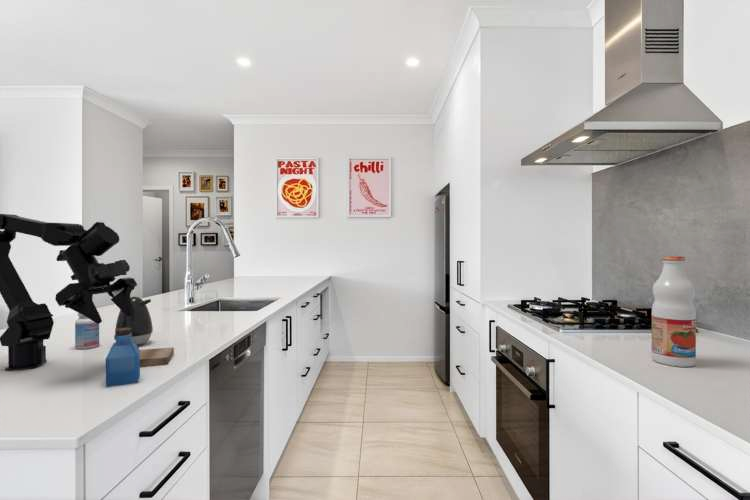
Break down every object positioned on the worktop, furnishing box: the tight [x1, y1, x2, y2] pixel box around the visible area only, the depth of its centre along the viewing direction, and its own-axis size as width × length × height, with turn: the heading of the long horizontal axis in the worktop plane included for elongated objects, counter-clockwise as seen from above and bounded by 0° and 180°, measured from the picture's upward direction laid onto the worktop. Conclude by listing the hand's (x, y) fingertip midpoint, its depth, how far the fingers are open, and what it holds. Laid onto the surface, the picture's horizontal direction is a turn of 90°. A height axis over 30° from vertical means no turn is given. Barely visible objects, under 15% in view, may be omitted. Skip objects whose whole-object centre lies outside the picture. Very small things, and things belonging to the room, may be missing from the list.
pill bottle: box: [74, 312, 100, 350], centre depth 124 cm, size 6×6×11 cm
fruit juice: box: [650, 255, 697, 368], centre depth 106 cm, size 9×9×28 cm
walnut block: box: [140, 346, 175, 368], centre depth 109 cm, size 11×11×2 cm
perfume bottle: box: [105, 328, 141, 388], centre depth 93 cm, size 6×6×12 cm
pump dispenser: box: [114, 296, 154, 347], centre depth 127 cm, size 10×10×15 cm
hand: (115, 319), depth 100 cm, fingers open, 9 cm apart
